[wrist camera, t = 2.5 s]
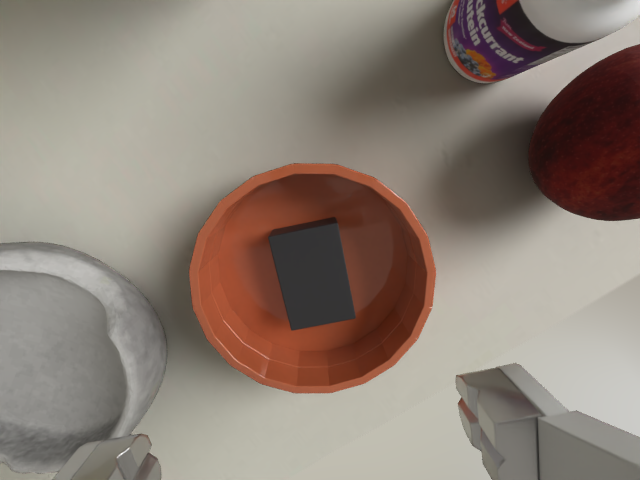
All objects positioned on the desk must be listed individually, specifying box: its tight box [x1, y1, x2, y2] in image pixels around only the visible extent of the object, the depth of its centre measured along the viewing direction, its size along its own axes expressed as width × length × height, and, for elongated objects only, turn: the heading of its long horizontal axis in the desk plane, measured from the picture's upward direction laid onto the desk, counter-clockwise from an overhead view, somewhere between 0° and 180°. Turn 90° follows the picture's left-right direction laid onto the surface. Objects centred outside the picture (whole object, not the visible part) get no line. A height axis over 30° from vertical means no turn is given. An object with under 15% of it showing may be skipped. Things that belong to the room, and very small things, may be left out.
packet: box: [268, 217, 356, 331], centre depth 19 cm, size 6×4×2 cm, turn 11°
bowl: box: [189, 163, 436, 393], centre depth 18 cm, size 13×13×4 cm
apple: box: [528, 44, 640, 221], centre depth 15 cm, size 7×8×8 cm
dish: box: [0, 242, 167, 474], centre depth 19 cm, size 14×14×5 cm
